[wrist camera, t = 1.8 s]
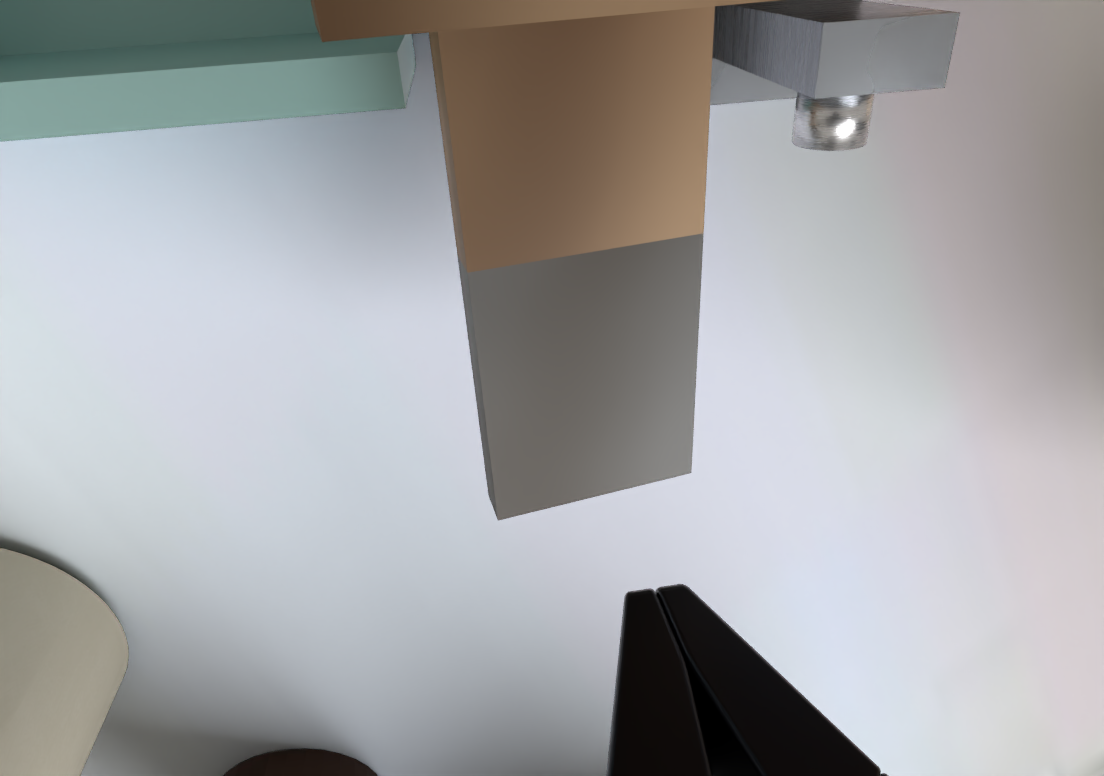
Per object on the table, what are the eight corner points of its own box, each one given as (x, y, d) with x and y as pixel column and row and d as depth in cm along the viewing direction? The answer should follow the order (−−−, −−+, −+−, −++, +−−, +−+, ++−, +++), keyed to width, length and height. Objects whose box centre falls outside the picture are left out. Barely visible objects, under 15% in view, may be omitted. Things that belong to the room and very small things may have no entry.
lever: (1236, -478, 12) (1702, -693, 8) (1005, 322, 20) (1188, 415, 16) (195, -568, 8) (110, -1036, 4) (400, 455, 16) (437, 619, 12)
